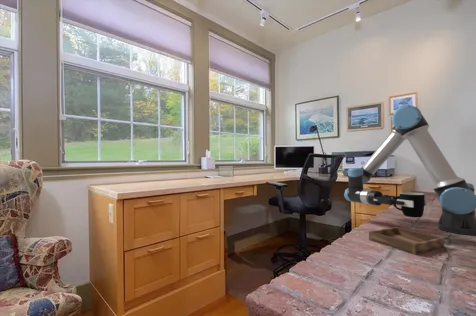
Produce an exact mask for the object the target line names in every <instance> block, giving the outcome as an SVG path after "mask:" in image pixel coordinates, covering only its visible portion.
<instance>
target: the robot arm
mask: <svg viewBox="0 0 476 316" xmlns="http://www.w3.org/2000/svg"><path fill="white" fill-rule="evenodd" d="M391 122H392V125H393V127H392V128H391V132H390V134H389V135H388V136H387V137H386V138H384V139H385V140H384V141H382V143H381V144H380V145H379V146H378V147H377V149H376V150H375V151H374V152H373V153H372V154H371V155H370V157H369V158H368V159H367V161H366V162H364V164H363V165H362V167H350V168H348V171H347V172H348V173H347V178H348V180H347V181H348V187H347V188H346V189H344V194H343V196H344V198H345V200H347V201H348V202H353V203H356V204H357V203H358V204H365V205H366V206H369V205H373V206H381V205H382V204H383V205H387V206H393V207H394V208H395V207H398V206H399V207H401V206H406V207H414V201H409V200H400V198H397V199H394V198H395V197H397V196H398V195H397V196H396V195H388V194H383V192H381V191H379V190H371V189H364V184H367V183H368V182H370V181H371V179H372V177H373V176H374V175H375V173H376V172H377V171H378V170H379V169H380V168H381V167H382V165H383V164H385V162H386V161H387V160H388V159H389V158H390V157H391V156H392V155H393V153H394V152H395V151H396V150H397V149H398V148H399V147H400V146H401V145H402V144H403V142H405V140H407V141H408V142H409V144H410V145H411V147H412V149H413V150H414V152H415V154H416V156H417V158H418V159H419V160H420V162H421V163H422V166H423V167H424V169H425V170H426V172H427V174H428V175H429V177H430V178H431V181H432V182H433V184H434V185H433V187H432V189H433V191H434V193H435V194H436V196H437V197H438V199H439V202H440V206H441V214H440V217H439V219H438V222H437V228H438V229H439V230H441V231H444V232H449V233H453V234H458V235H465V236H466V235H467V236H476V194H475V191H476V188H475V185H474V184H473V183H470V182H469V183H468V182H467V181H466V180H465V178H462V177H459V176H458V175H457V174H456V172H455V170H454V169H453V168H452V166H451V165H450V162H449V161H448V160H447V159H446V157H445V155H444V154H443V152H442V150H441V149H440V148H439V146H438V145H437V143H436V141H435V140H434V138H433V137H432V135H431V133H430V131H428V130H429V127H430V125H429V123H428V122H427V120H426V118H425V117H424V115H423V113H422V111H421V110H420V109H419V108H418V107H417V106H414V105H411V104H410V105H402V106H400V107H399V108H397V109H396V110H395V111H394V112H393V114H392V115H391ZM427 202H428V200H427V199H426V198H425V202H424V207H427V206H428V204H427Z"/></svg>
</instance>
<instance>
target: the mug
mask: <svg viewBox="0 0 476 316" xmlns="http://www.w3.org/2000/svg"><path fill="white" fill-rule="evenodd" d="M397 198H400V200H409V201H414V207H406V206H400V207H401V208H399V207H398V206H397V207H394V208H395V209H397V210H398V211H401V212H402V214H403V216H405V217H409V218H422V217H423V215H424V213H425V212H424V211H425V206H424V202H425V199H426V198H425V193H421V192H410V191H409V192H408V191H407V192H399V195H397V197H395V198H394V199H397Z"/></svg>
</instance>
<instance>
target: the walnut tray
mask: <svg viewBox="0 0 476 316" xmlns="http://www.w3.org/2000/svg"><path fill="white" fill-rule="evenodd" d="M368 240H369V241H372V242H374V243H378V244H381V245H384V246H387V247H391V248H393V249H397V250H399V251H403V252H405V253H406V252H407V253H409V254H412V255H415V256H417V255H420V254H424V253H427V252H431V251H435V250H440V249H443V248H445V240H444V237H439V236H436V235H431V234H427V233H422V232H419V231H415V230H411V229H407V228H402V227H398V226H393V227H388V228H383V229H376V230H370V231H368Z"/></svg>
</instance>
